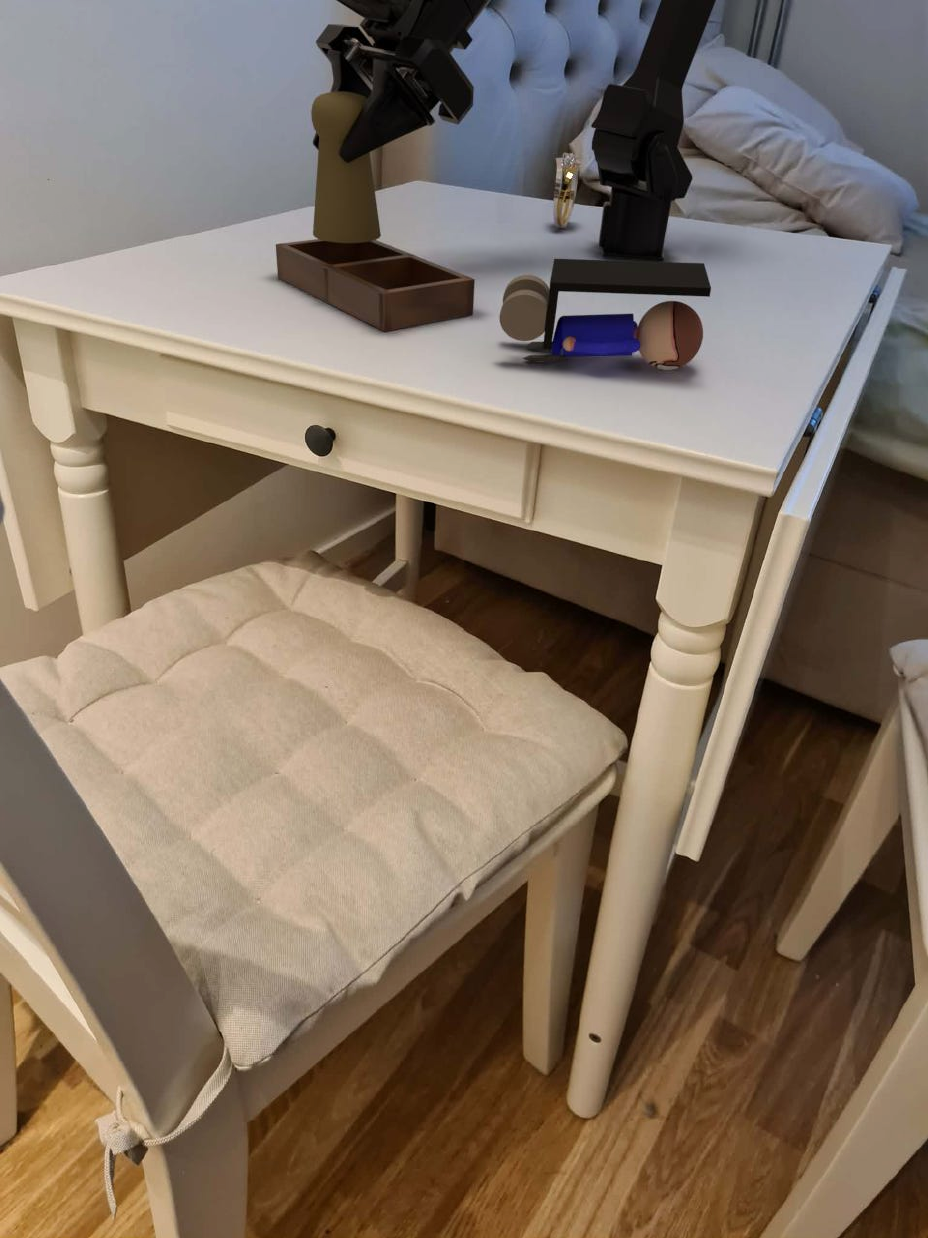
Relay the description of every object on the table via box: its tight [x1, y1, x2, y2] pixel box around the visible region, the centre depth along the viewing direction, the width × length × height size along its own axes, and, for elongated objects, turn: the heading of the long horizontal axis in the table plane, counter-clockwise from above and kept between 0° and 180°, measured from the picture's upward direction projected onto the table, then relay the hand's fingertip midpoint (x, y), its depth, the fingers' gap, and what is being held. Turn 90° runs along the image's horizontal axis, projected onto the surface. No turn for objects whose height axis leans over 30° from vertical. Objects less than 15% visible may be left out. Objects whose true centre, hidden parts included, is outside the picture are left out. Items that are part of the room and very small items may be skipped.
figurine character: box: [498, 258, 712, 371], centre depth 66 cm, size 7×8×15 cm
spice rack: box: [275, 238, 476, 332], centre depth 78 cm, size 9×18×3 cm, turn 38°
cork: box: [310, 91, 382, 243], centre depth 76 cm, size 6×6×11 cm
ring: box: [552, 151, 583, 229], centre depth 103 cm, size 7×3×8 cm, turn 157°
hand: (329, 152), depth 75 cm, fingers closed on cork, 5 cm apart
